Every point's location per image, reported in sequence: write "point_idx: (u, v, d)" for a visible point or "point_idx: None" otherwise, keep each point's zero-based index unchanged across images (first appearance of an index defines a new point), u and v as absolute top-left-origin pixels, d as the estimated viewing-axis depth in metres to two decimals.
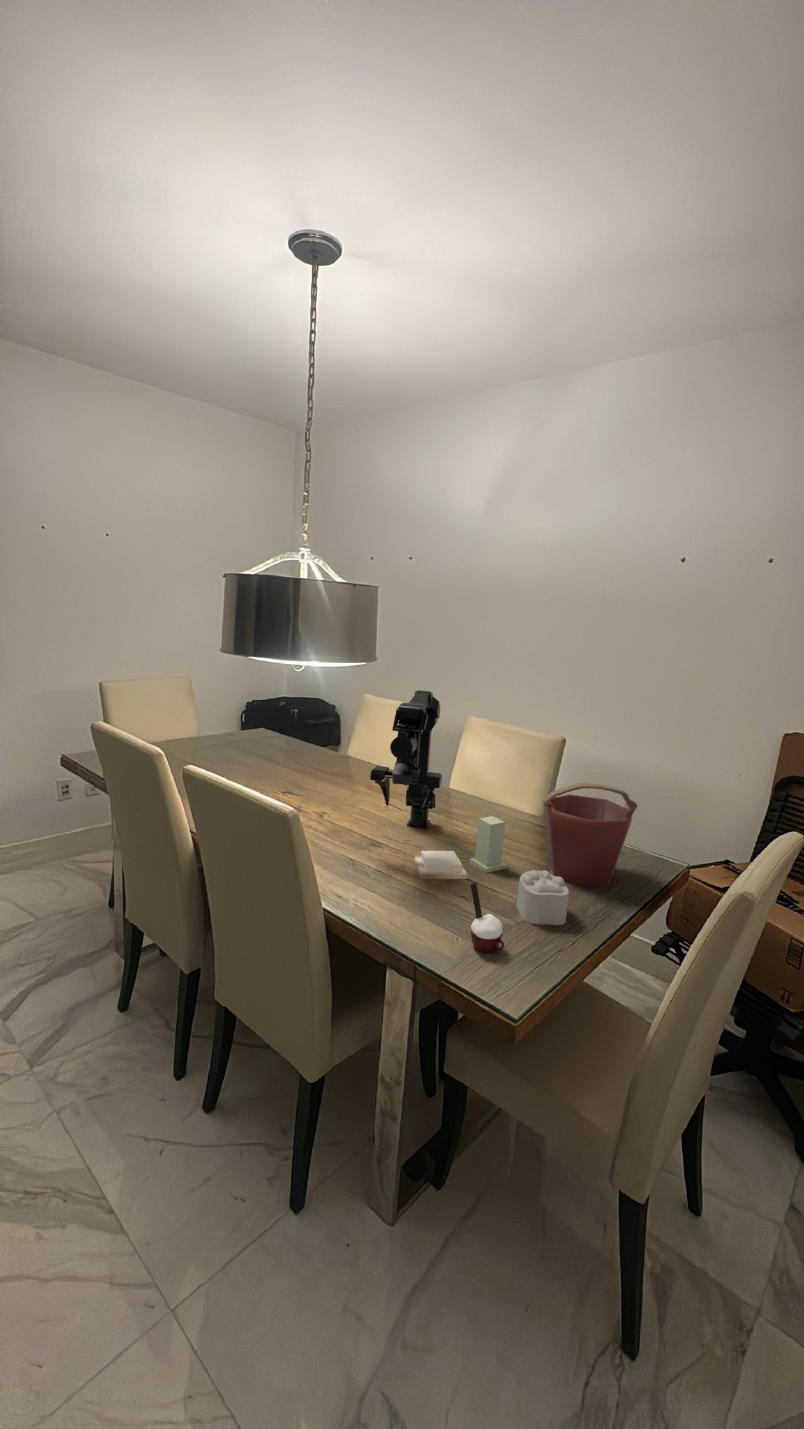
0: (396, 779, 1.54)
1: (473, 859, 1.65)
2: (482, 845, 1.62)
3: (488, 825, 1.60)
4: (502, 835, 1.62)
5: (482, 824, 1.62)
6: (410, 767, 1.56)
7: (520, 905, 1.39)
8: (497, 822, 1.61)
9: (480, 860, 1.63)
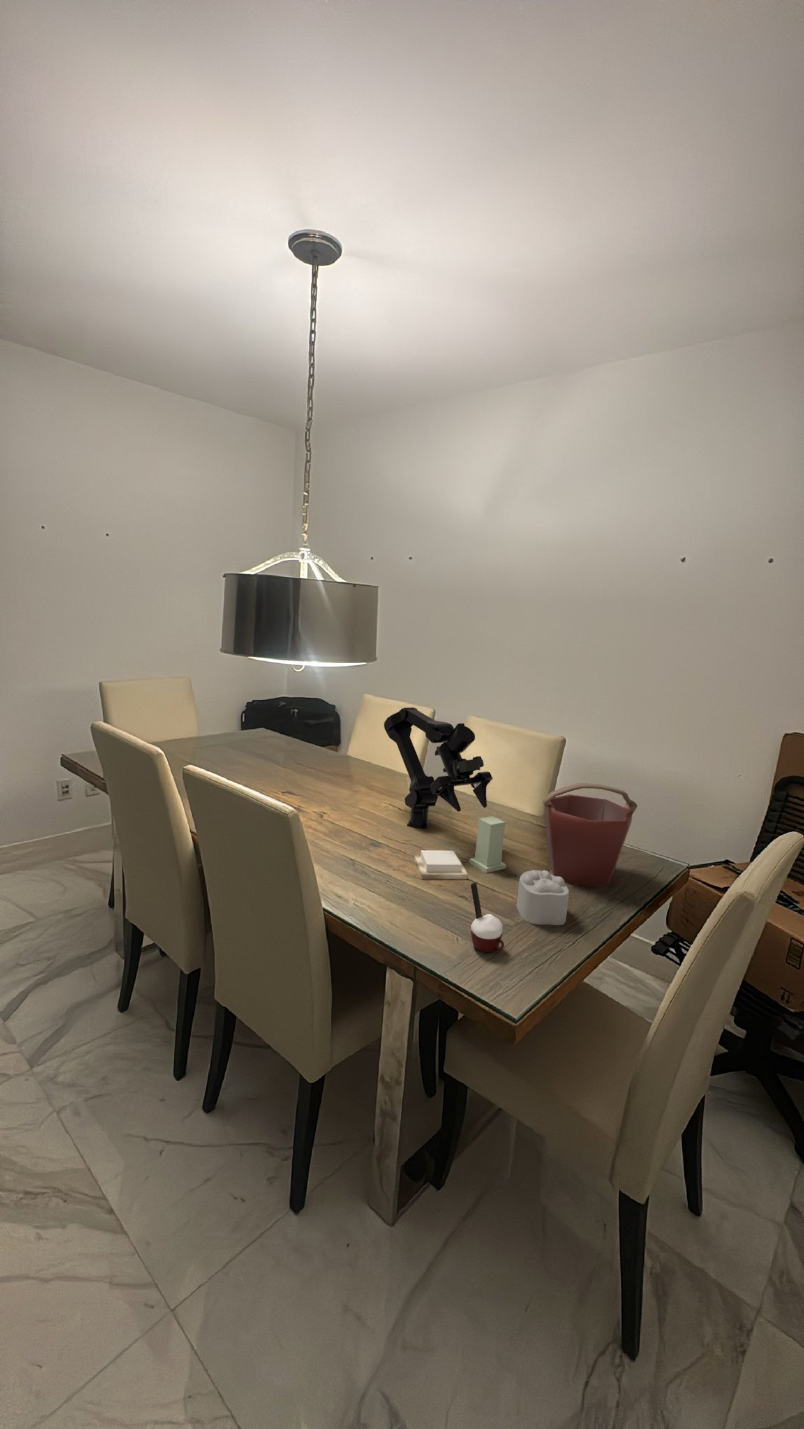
0: (471, 765, 1.67)
1: (473, 859, 1.65)
2: (482, 845, 1.62)
3: (488, 825, 1.60)
4: (502, 835, 1.62)
5: (482, 824, 1.62)
6: None
7: (520, 905, 1.39)
8: (497, 822, 1.61)
9: (480, 860, 1.63)
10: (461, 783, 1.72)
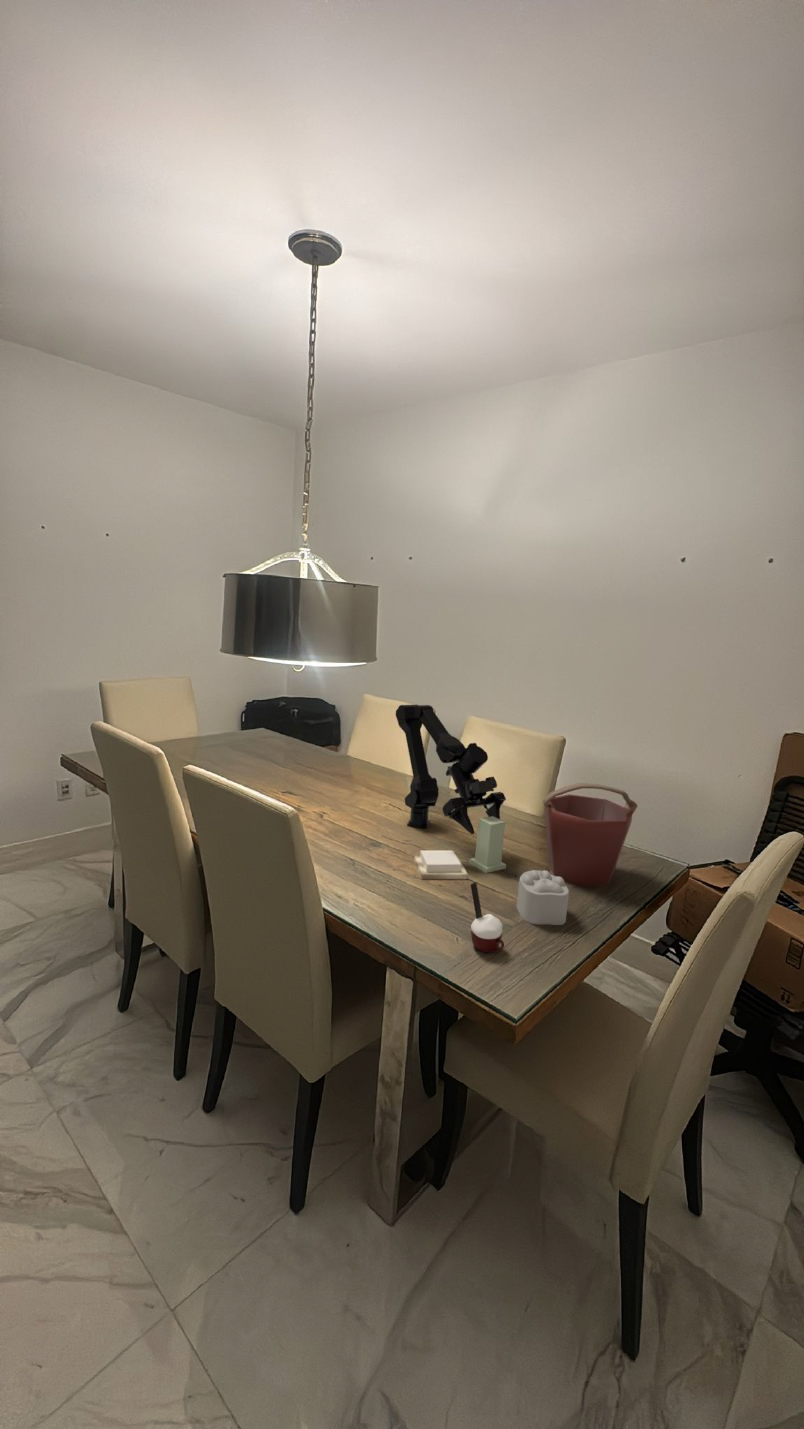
0: (484, 786, 1.63)
1: (473, 859, 1.65)
2: (482, 845, 1.62)
3: (488, 825, 1.60)
4: (502, 835, 1.62)
5: (482, 824, 1.62)
6: None
7: (520, 905, 1.39)
8: (497, 822, 1.61)
9: (480, 860, 1.63)
10: (474, 804, 1.68)
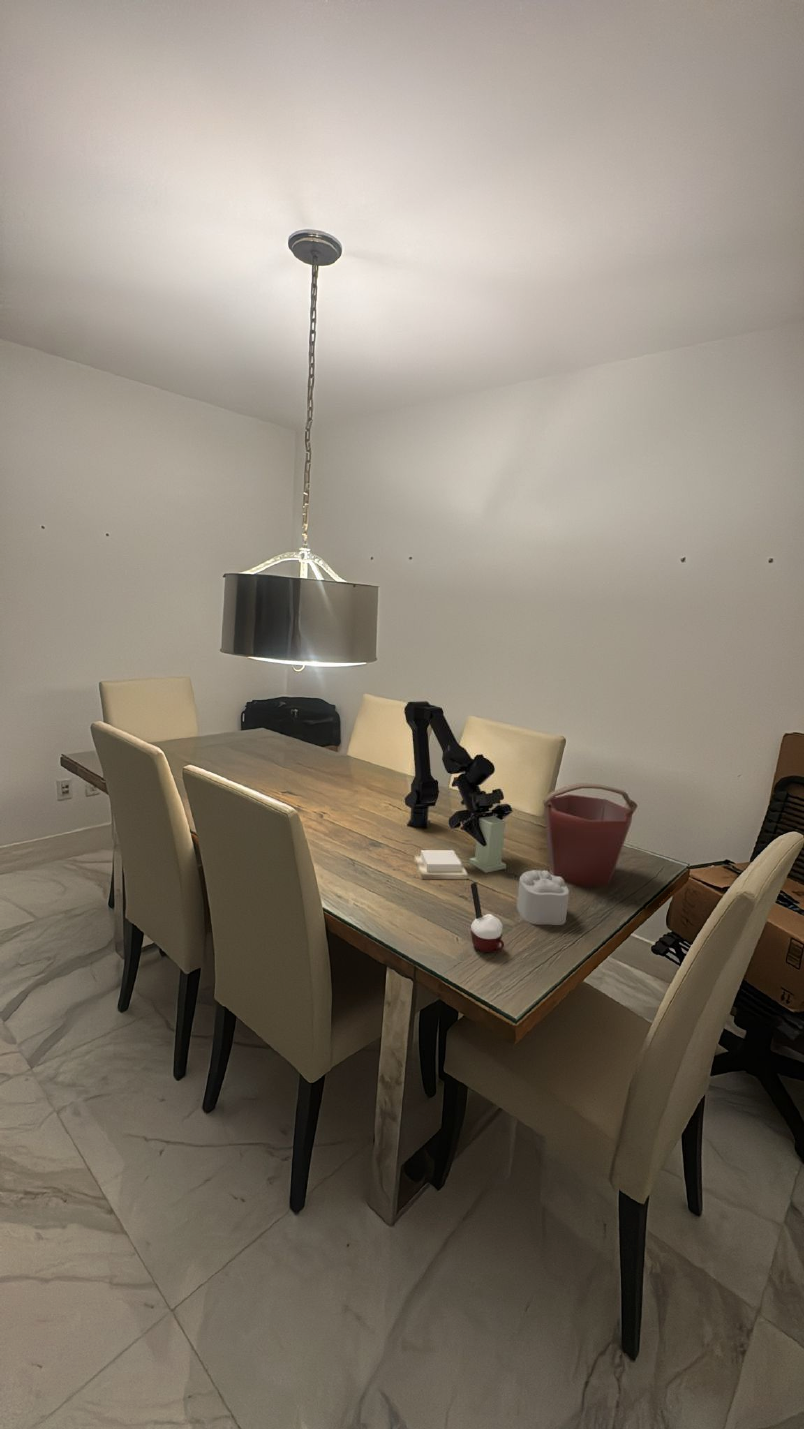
0: (491, 798, 1.60)
1: (473, 859, 1.65)
2: None
3: (488, 825, 1.60)
4: (502, 835, 1.62)
5: (482, 824, 1.62)
6: None
7: (520, 905, 1.39)
8: (497, 822, 1.61)
9: (480, 860, 1.63)
10: (485, 816, 1.66)
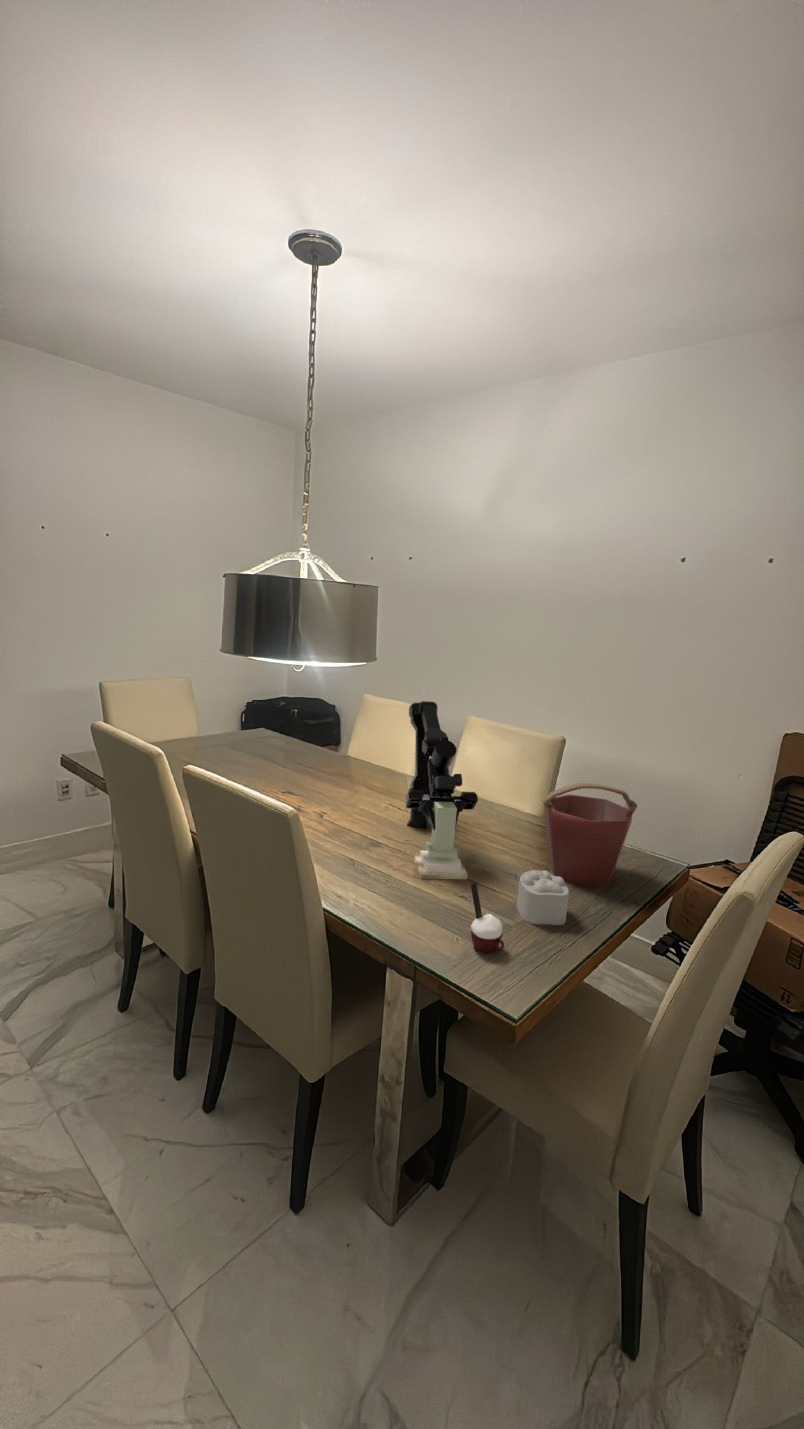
0: (443, 781, 1.56)
1: (429, 843, 1.62)
2: None
3: (437, 809, 1.55)
4: (453, 822, 1.56)
5: (435, 807, 1.58)
6: None
7: (520, 905, 1.39)
8: (448, 807, 1.55)
9: (432, 844, 1.59)
10: (447, 801, 1.61)
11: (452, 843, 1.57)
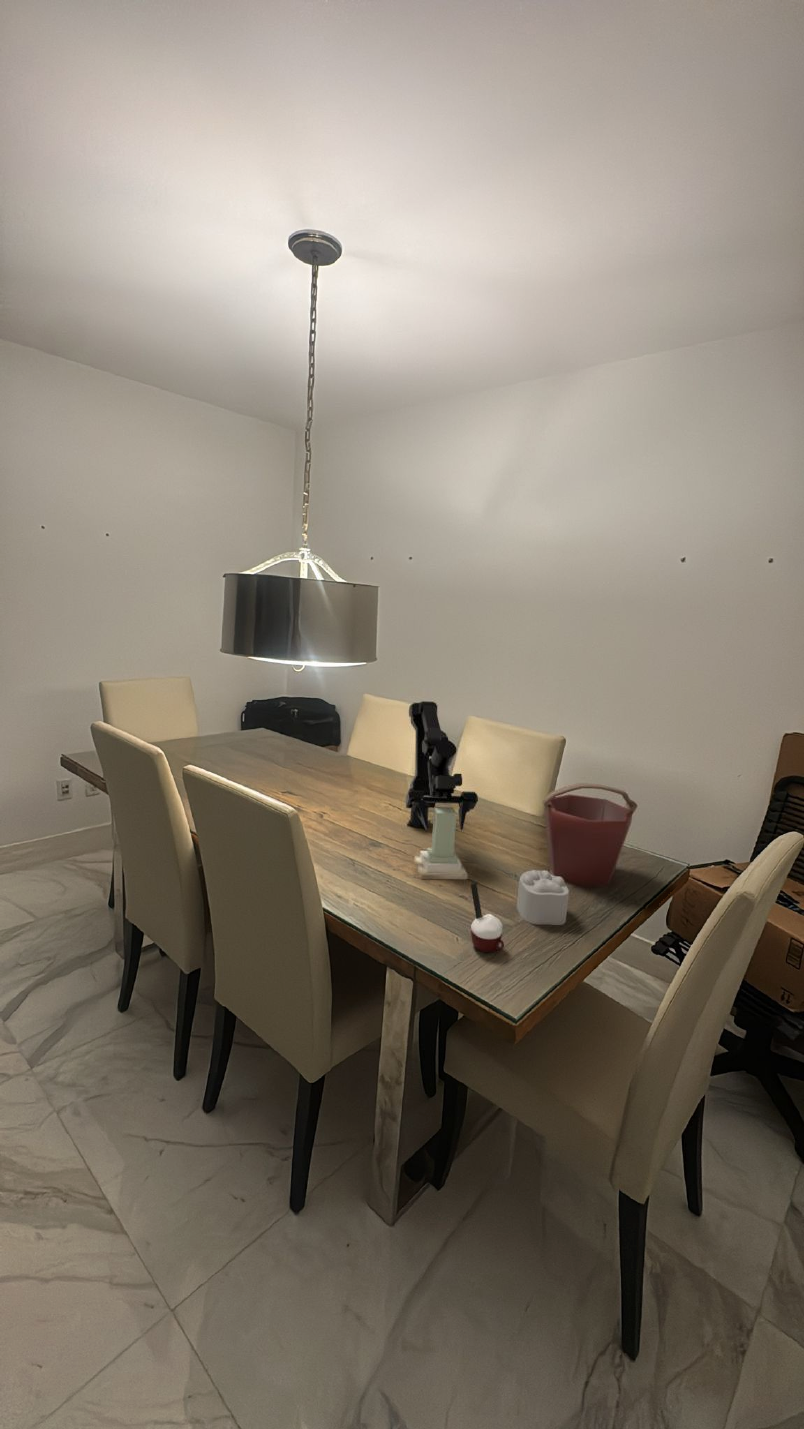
0: (443, 781, 1.56)
1: (430, 848, 1.62)
2: (434, 834, 1.58)
3: (436, 814, 1.56)
4: (453, 827, 1.56)
5: (435, 813, 1.58)
6: None
7: (520, 905, 1.39)
8: (447, 812, 1.56)
9: (432, 850, 1.59)
10: (440, 800, 1.61)
11: (452, 848, 1.57)
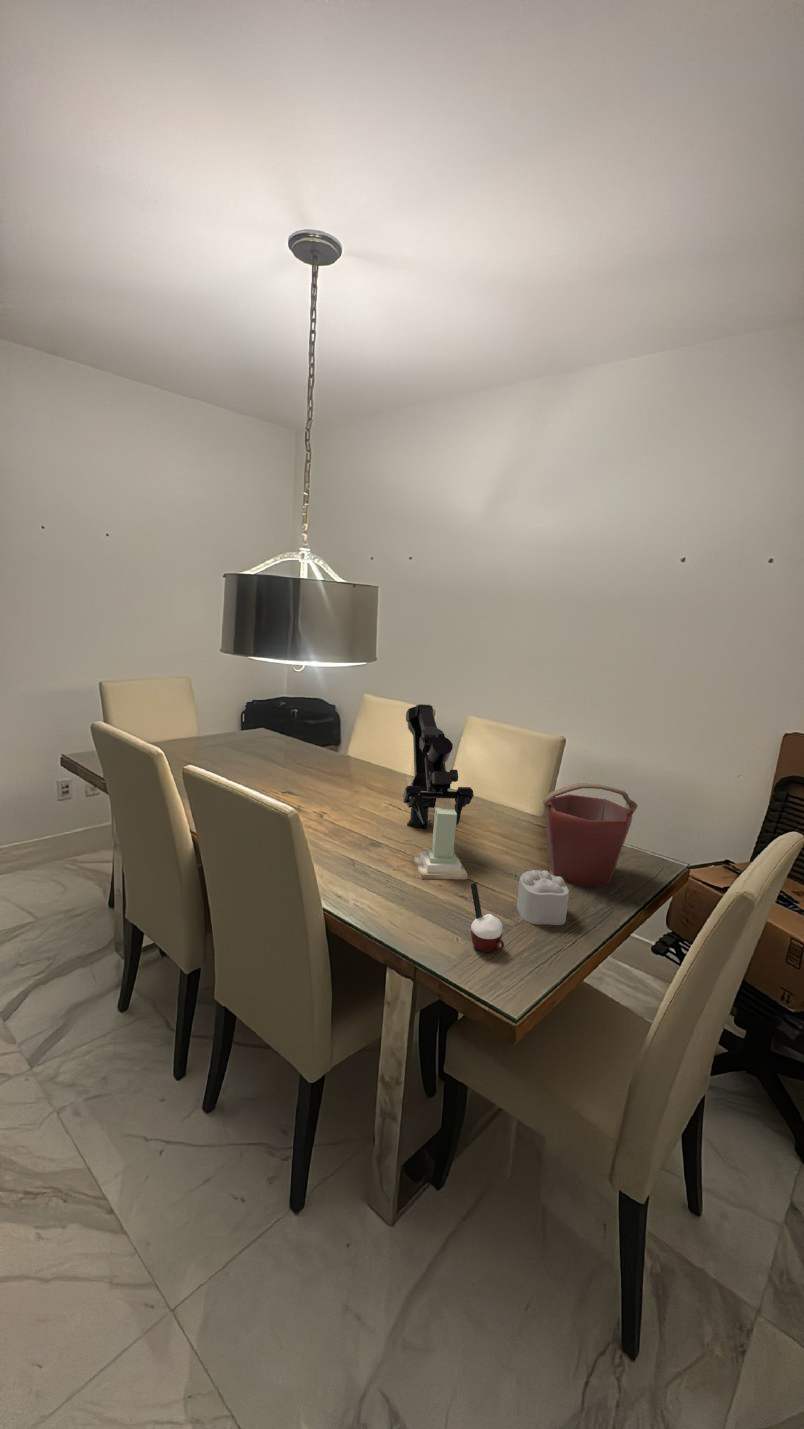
0: (439, 777, 1.60)
1: (430, 849, 1.62)
2: (434, 835, 1.58)
3: (437, 814, 1.56)
4: (453, 828, 1.56)
5: (435, 813, 1.58)
6: None
7: (520, 905, 1.39)
8: (448, 813, 1.56)
9: (432, 850, 1.59)
10: (436, 796, 1.66)
11: (452, 849, 1.57)
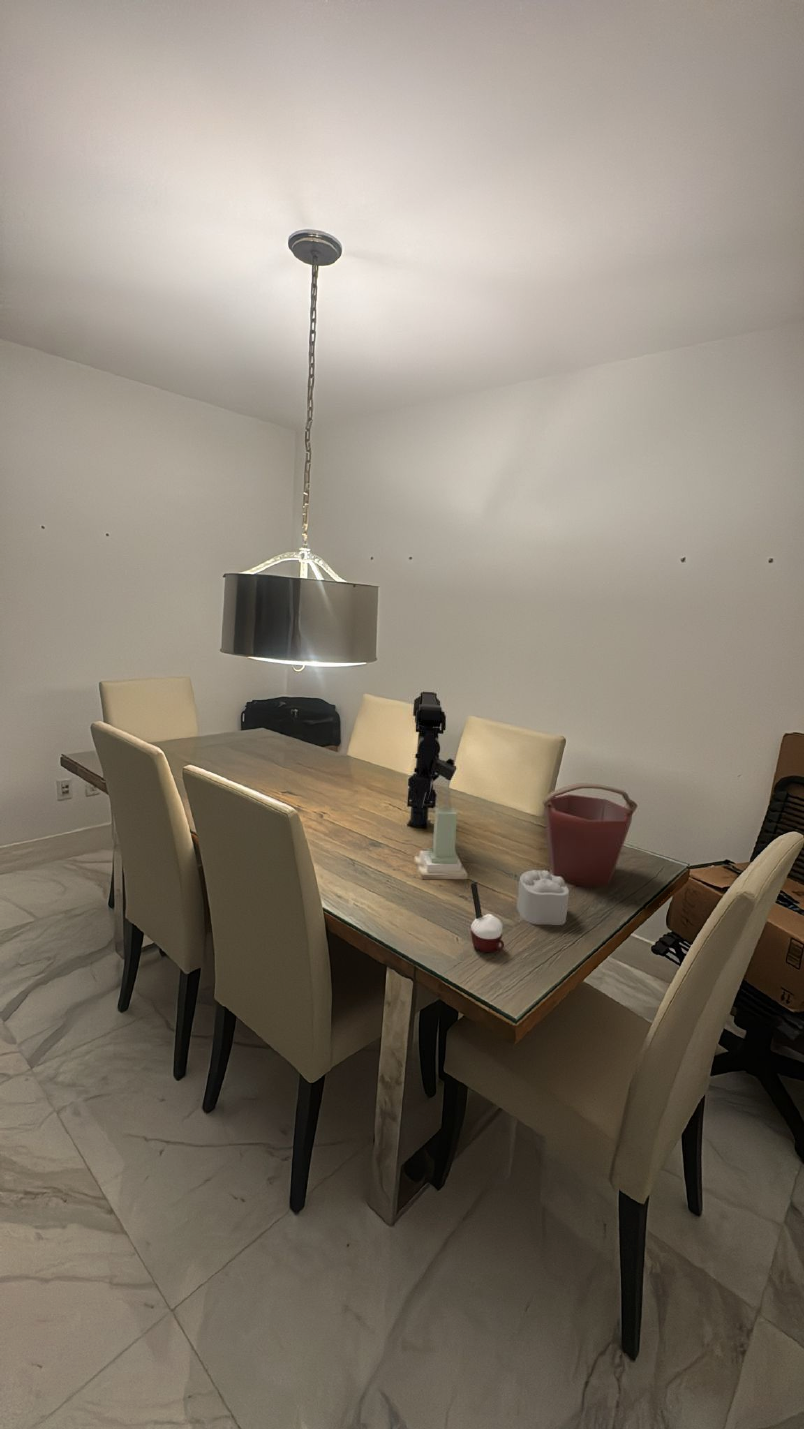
0: None
1: (431, 848, 1.62)
2: (435, 835, 1.58)
3: (437, 814, 1.56)
4: (454, 827, 1.56)
5: (435, 813, 1.58)
6: (445, 762, 1.71)
7: (520, 905, 1.39)
8: (448, 813, 1.56)
9: (433, 850, 1.59)
10: None
11: (453, 848, 1.57)
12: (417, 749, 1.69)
